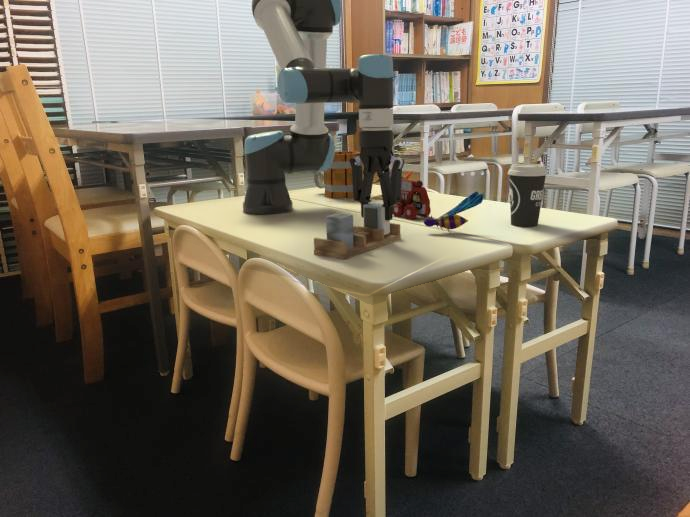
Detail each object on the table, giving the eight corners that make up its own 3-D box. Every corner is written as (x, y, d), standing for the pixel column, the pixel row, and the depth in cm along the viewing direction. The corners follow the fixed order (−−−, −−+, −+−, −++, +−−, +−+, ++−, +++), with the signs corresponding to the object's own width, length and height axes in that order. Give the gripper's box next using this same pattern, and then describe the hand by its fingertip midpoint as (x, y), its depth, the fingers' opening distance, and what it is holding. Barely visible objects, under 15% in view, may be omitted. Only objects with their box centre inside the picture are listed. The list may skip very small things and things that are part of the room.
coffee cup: (524, 230, 133) (528, 168, 129) (496, 223, 141) (499, 165, 137) (552, 226, 137) (557, 165, 133) (524, 219, 145) (527, 162, 141)
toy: (421, 231, 135) (422, 190, 132) (476, 229, 136) (477, 188, 133) (428, 237, 128) (429, 195, 125) (485, 235, 129) (488, 193, 126)
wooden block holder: (313, 254, 116) (312, 216, 114) (372, 234, 133) (371, 201, 131) (344, 259, 111) (343, 220, 109) (400, 238, 128) (400, 204, 126)
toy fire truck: (418, 222, 146) (418, 183, 143) (387, 215, 156) (387, 179, 153) (436, 218, 150) (437, 180, 147) (405, 212, 160) (405, 176, 157)
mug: (370, 195, 192) (369, 151, 188) (347, 200, 182) (347, 155, 178) (326, 191, 204) (324, 150, 200) (302, 196, 193) (300, 153, 189)
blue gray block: (388, 233, 127) (388, 204, 125) (377, 237, 124) (377, 207, 122) (374, 231, 130) (374, 202, 128) (362, 235, 126) (362, 205, 124)
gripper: (335, 129, 123) (337, 231, 129) (400, 130, 113) (399, 240, 119) (354, 128, 129) (356, 226, 135) (418, 128, 119) (417, 233, 125)
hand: (376, 232), depth 127 cm, fingers closed on blue gray block, 4 cm apart
